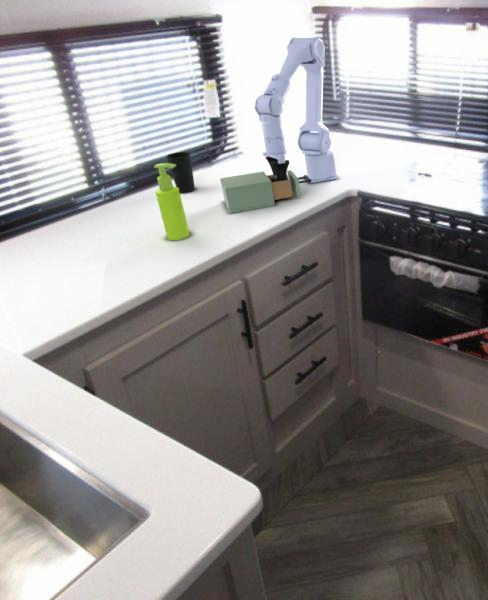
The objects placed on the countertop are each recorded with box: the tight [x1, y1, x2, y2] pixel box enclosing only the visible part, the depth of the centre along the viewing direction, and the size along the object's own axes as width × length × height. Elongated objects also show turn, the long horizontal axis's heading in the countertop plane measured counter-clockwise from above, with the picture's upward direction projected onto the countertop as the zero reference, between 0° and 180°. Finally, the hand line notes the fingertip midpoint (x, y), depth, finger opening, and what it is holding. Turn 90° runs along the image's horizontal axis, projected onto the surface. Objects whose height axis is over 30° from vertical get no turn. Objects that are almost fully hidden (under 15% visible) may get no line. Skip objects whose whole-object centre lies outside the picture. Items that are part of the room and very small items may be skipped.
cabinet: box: [219, 170, 276, 214], centre depth 176 cm, size 14×12×8 cm
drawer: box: [266, 169, 312, 201], centre depth 179 cm, size 17×10×6 cm, turn 111°
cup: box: [165, 151, 196, 194], centre depth 190 cm, size 8×8×12 cm
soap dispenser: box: [153, 162, 190, 241], centre depth 152 cm, size 6×7×20 cm
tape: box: [271, 174, 288, 182], centre depth 178 cm, size 5×5×3 cm
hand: (280, 180), depth 178 cm, fingers closed on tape, 5 cm apart
